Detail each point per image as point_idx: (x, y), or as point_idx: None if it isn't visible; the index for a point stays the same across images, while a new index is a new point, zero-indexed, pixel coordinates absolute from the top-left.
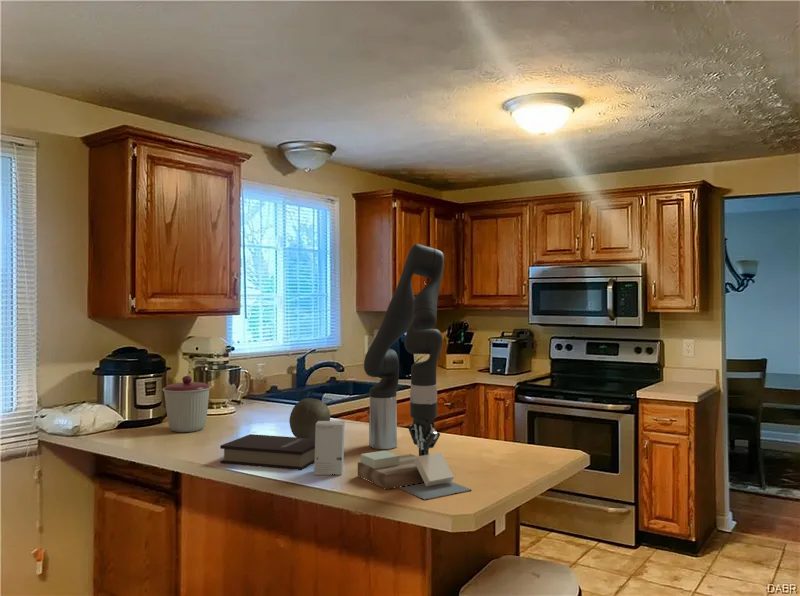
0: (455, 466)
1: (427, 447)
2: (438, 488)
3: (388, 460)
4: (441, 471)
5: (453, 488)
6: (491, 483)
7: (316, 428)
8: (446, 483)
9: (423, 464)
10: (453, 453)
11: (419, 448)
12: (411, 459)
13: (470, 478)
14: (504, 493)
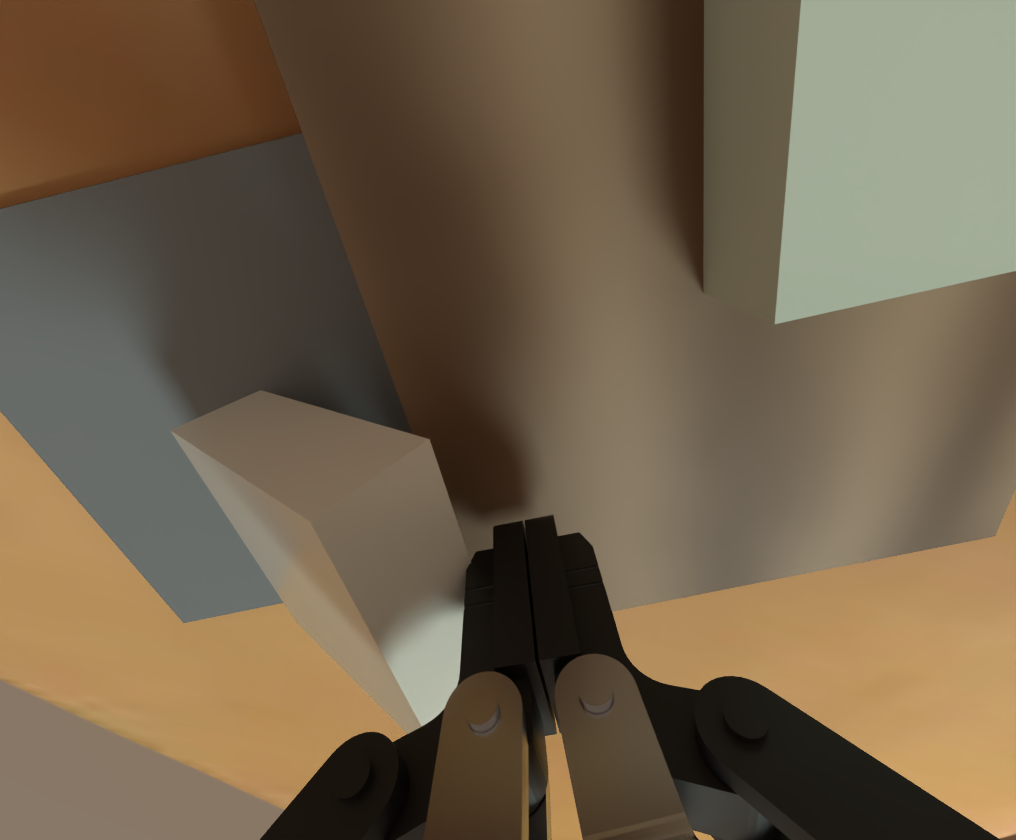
0: (711, 674)
1: (316, 787)
2: None
3: (761, 64)
4: (286, 589)
5: (219, 547)
6: (326, 717)
7: None
8: None
9: (256, 502)
10: (930, 721)
11: (603, 662)
12: (817, 487)
13: None
14: (126, 716)
